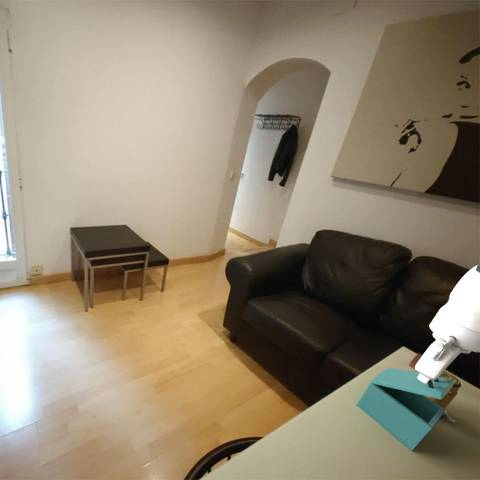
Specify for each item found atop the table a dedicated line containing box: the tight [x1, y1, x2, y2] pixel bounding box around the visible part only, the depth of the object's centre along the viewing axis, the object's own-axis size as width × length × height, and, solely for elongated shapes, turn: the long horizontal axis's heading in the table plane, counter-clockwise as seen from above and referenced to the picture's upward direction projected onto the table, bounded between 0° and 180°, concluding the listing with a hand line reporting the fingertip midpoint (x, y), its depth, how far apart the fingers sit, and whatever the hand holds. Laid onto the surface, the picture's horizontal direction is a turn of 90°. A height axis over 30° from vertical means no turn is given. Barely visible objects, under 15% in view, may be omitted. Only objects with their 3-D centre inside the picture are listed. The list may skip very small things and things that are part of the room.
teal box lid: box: [371, 367, 455, 400], centre depth 67 cm, size 13×11×5 cm
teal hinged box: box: [356, 382, 446, 452], centre depth 70 cm, size 13×11×9 cm
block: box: [408, 353, 423, 370], centre depth 90 cm, size 4×4×4 cm
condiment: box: [426, 370, 462, 424], centre depth 74 cm, size 7×8×12 cm
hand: (426, 375), depth 64 cm, fingers closed on teal box lid, 5 cm apart
